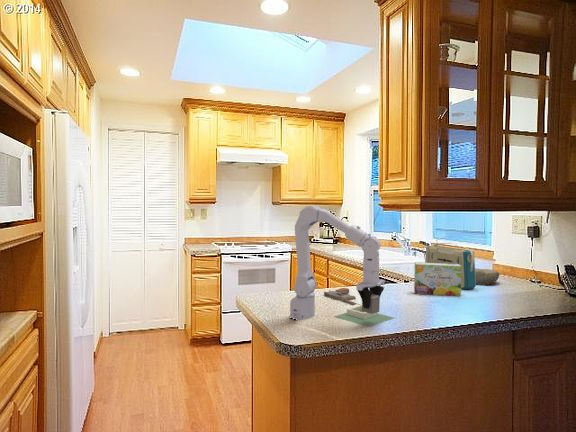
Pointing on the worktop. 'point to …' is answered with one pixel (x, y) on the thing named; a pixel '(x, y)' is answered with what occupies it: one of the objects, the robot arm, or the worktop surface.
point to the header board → (366, 322)
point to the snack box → (437, 279)
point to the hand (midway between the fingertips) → (370, 306)
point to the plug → (373, 304)
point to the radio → (454, 261)
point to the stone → (486, 276)
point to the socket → (359, 312)
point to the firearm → (341, 295)
